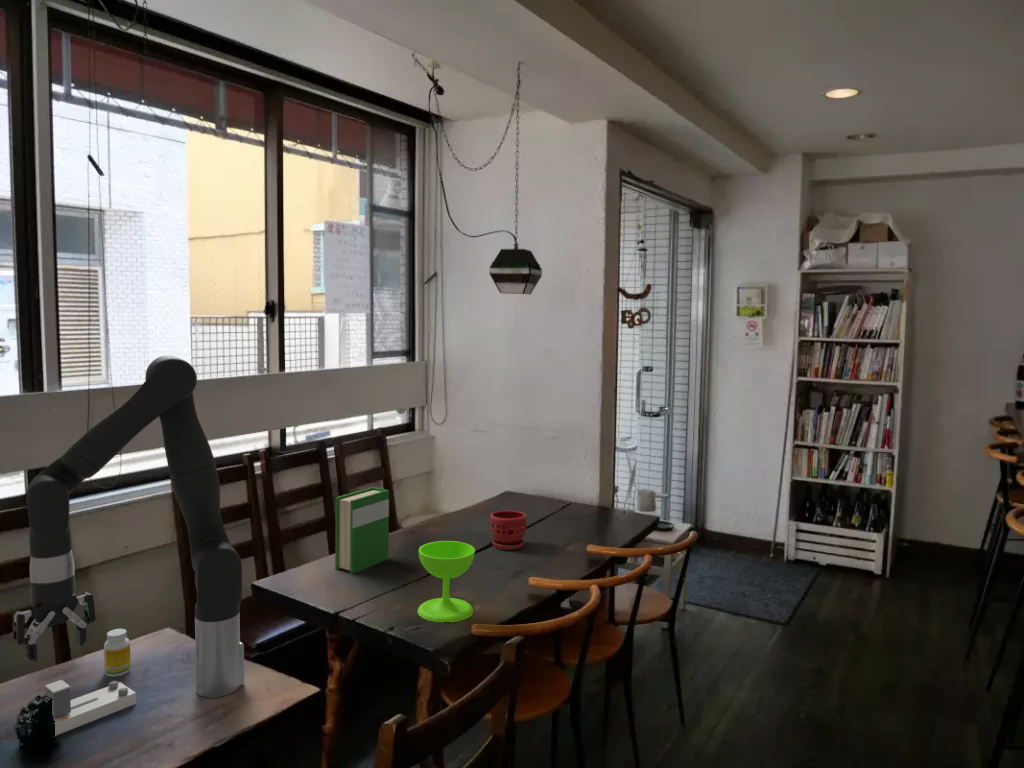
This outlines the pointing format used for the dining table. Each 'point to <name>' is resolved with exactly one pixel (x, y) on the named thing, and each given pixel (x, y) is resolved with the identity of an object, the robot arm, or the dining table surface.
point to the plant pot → (508, 529)
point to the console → (95, 706)
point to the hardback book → (361, 529)
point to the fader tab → (59, 697)
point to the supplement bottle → (116, 653)
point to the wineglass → (446, 579)
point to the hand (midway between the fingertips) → (56, 652)
